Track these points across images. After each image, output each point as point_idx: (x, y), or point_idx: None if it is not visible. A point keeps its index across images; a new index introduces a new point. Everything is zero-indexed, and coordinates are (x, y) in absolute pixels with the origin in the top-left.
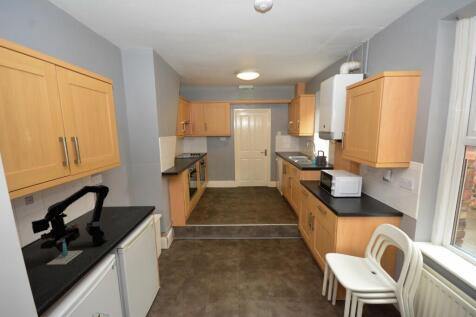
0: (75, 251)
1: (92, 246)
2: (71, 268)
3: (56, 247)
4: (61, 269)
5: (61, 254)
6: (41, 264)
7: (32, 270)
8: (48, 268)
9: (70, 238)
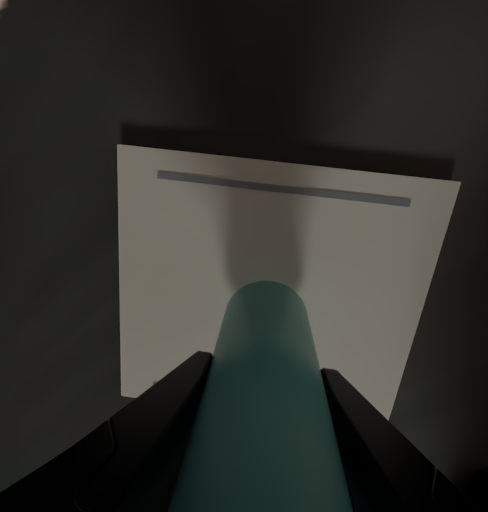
0: (390, 356)
1: (469, 486)
2: None
3: (71, 474)
4: (50, 405)
5: (222, 323)
6: (145, 16)
7: (6, 5)
8: (58, 238)
9: None
